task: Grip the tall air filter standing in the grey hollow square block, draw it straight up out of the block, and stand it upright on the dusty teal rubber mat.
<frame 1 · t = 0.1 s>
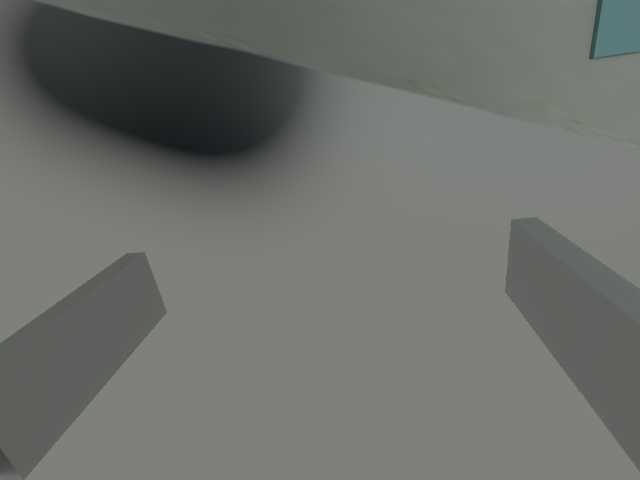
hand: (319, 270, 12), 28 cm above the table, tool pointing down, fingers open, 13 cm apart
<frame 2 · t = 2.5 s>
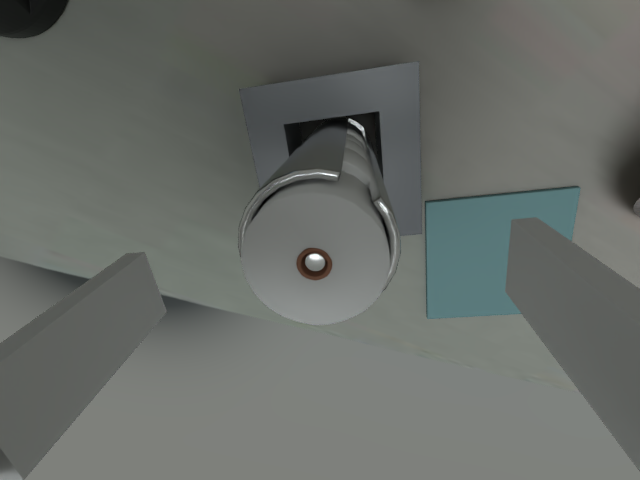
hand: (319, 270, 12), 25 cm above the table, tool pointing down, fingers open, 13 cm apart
teal mat: (494, 257, 38), on the table
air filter: (339, 149, 35), resting in grey hollow square block
grey hollow square block: (339, 149, 35), on the table
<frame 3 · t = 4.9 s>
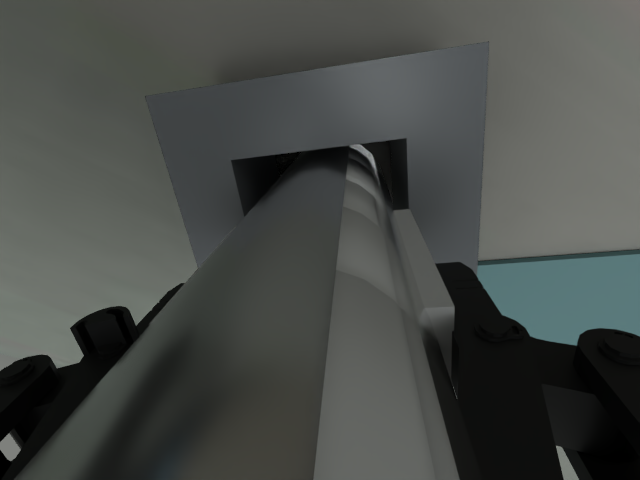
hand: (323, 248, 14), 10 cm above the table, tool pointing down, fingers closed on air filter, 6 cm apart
teal mat: (562, 341, 26), on the table
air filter: (335, 186, 23), resting in grey hollow square block, touching gripper
grey hollow square block: (335, 187, 23), on the table
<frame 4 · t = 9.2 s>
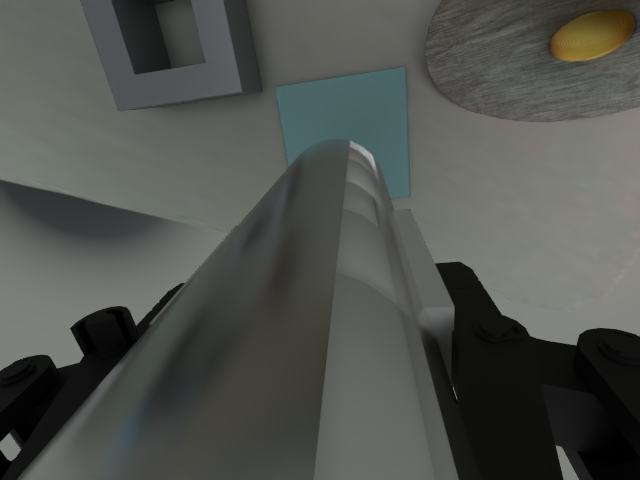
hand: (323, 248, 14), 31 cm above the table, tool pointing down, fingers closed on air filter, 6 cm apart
teal mat: (345, 143, 42), on the table
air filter: (335, 187, 23), point 21 cm above the table, touching gripper
grey hollow square block: (194, 36, 39), on the table
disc: (539, 24, 36), on the table
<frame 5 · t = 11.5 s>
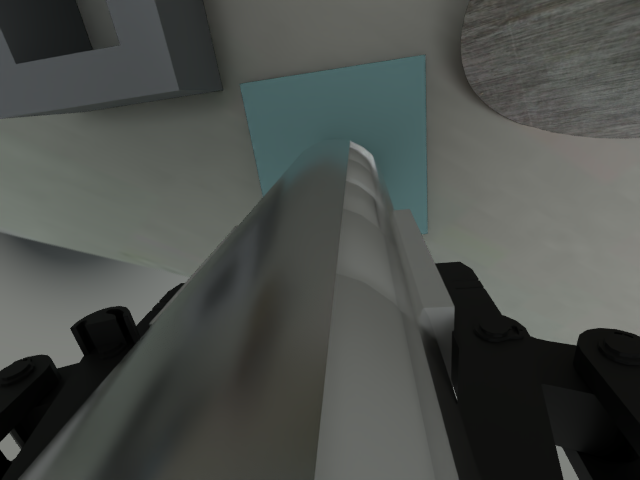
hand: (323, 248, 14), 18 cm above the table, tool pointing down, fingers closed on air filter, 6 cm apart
teal mat: (339, 162, 31), on the table
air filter: (335, 187, 23), point 8 cm above the table, touching gripper
grey hollow square block: (123, 12, 27), on the table
when the fingers open (12 cm above the table, at t = 13.6 s): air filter drops 1 cm, resting on teal mat.
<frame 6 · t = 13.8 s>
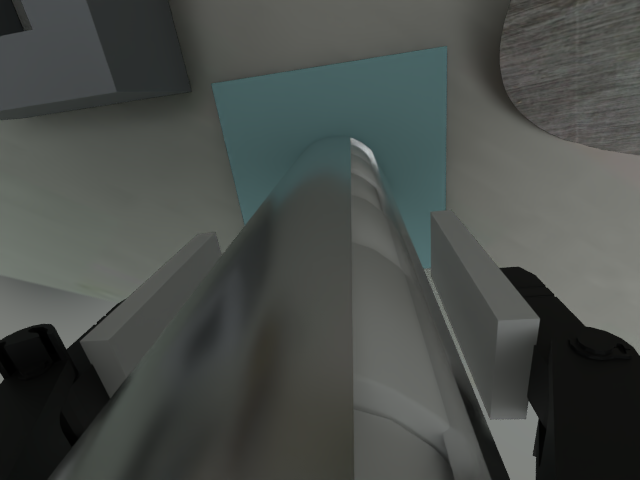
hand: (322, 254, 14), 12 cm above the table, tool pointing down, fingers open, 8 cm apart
teal mat: (337, 180, 25), on the table
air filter: (337, 181, 24), resting on teal mat
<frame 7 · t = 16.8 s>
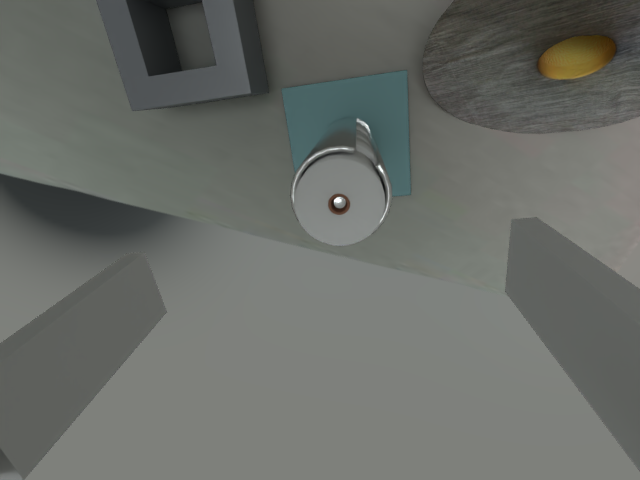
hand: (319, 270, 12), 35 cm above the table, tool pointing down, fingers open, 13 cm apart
teal mat: (348, 143, 44), on the table
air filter: (348, 143, 44), resting on teal mat
grey hollow square block: (204, 40, 41), on the table
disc: (531, 42, 38), on the table
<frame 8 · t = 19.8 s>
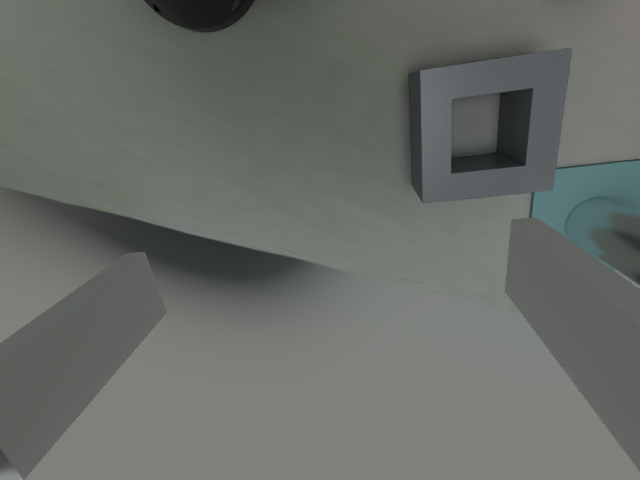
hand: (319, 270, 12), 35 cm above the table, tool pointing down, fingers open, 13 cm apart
teal mat: (589, 219, 45), on the table
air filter: (591, 220, 45), resting on teal mat
grey hollow square block: (466, 125, 42), on the table
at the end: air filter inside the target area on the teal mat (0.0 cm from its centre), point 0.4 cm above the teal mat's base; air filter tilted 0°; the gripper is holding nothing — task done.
